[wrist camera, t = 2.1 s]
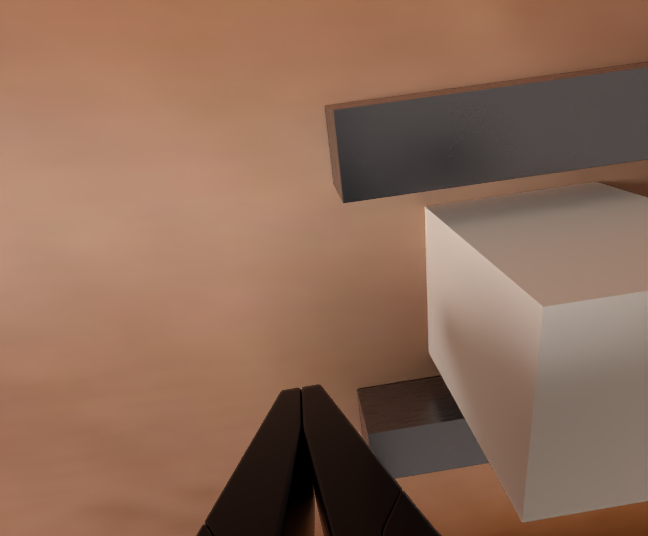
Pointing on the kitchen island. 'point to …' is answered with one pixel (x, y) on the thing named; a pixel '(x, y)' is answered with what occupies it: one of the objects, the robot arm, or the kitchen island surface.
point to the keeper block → (547, 340)
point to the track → (467, 169)
